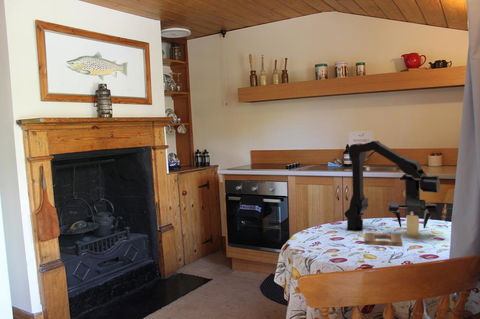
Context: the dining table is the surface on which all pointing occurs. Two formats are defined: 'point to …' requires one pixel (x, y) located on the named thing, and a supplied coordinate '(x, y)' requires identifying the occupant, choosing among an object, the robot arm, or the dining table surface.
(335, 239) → the dining table surface
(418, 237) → the grey square plate
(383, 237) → the rack plate
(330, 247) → the dining table surface
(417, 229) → the peg block
